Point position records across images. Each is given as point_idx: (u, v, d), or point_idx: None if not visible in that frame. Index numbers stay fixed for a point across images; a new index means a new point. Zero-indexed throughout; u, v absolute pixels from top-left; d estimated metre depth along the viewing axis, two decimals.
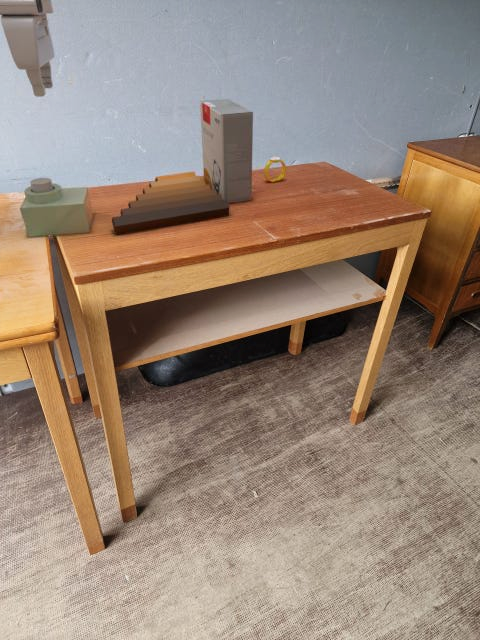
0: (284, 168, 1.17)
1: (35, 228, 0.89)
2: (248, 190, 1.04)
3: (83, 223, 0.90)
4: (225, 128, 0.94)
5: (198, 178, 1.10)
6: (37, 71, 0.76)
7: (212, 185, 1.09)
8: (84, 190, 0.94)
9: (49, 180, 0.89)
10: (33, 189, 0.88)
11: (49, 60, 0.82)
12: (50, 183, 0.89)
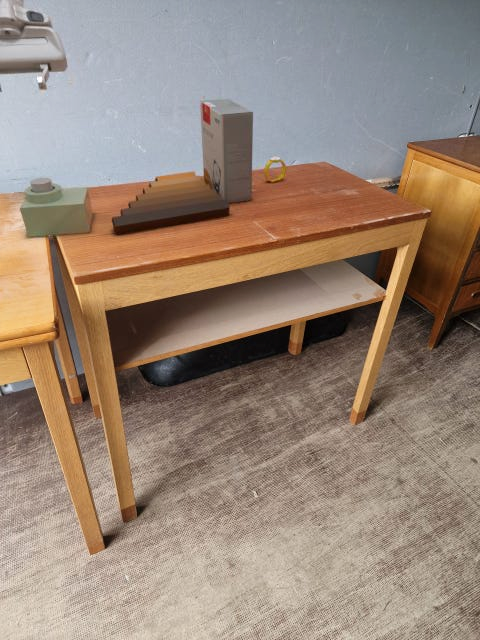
0: (284, 168, 1.17)
1: (35, 228, 0.89)
2: (248, 190, 1.04)
3: (83, 223, 0.90)
4: (225, 128, 0.94)
5: (198, 178, 1.10)
6: (48, 72, 0.92)
7: (212, 185, 1.09)
8: (84, 190, 0.94)
9: (49, 180, 0.89)
10: (33, 189, 0.88)
11: None
12: (50, 183, 0.89)
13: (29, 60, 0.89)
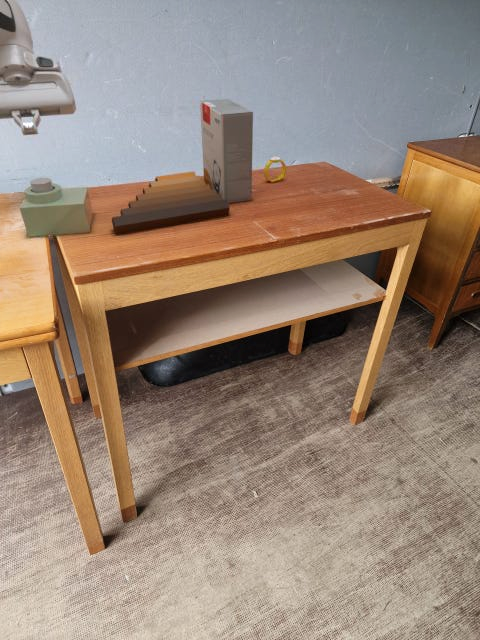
0: (284, 168, 1.17)
1: (35, 228, 0.89)
2: (248, 190, 1.04)
3: (83, 223, 0.90)
4: (225, 128, 0.94)
5: (198, 178, 1.10)
6: None
7: (212, 185, 1.09)
8: (84, 190, 0.94)
9: (49, 180, 0.89)
10: (33, 189, 0.88)
11: None
12: (50, 183, 0.89)
13: (39, 105, 0.90)
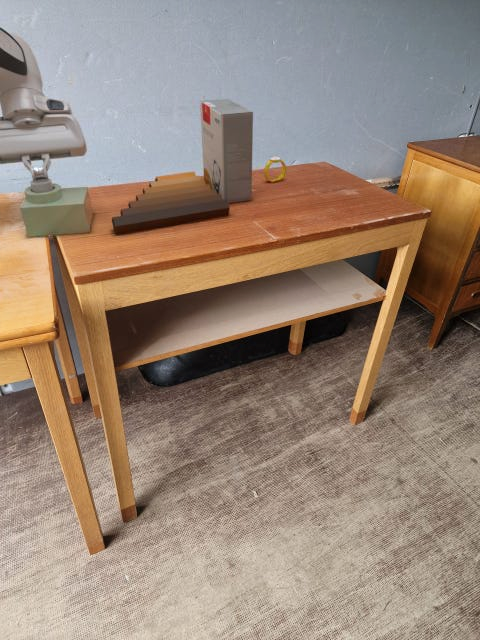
0: (284, 168, 1.17)
1: (35, 228, 0.89)
2: (248, 190, 1.04)
3: (83, 223, 0.90)
4: (225, 128, 0.94)
5: (198, 178, 1.10)
6: None
7: (212, 185, 1.09)
8: (84, 190, 0.94)
9: (49, 180, 0.89)
10: (33, 189, 0.88)
11: None
12: (50, 183, 0.89)
13: (49, 149, 0.88)
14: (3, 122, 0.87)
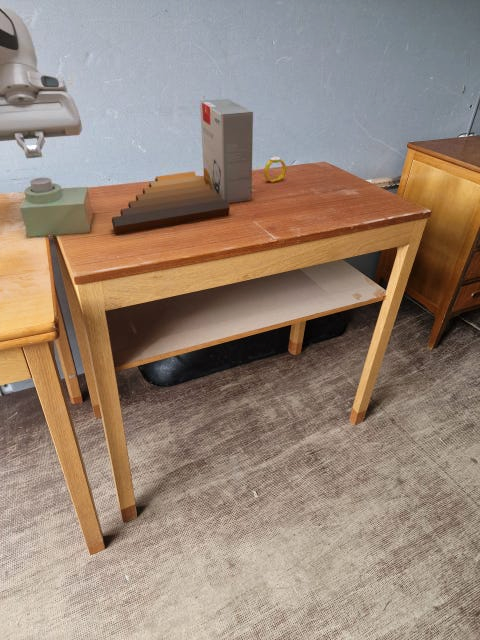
0: (284, 168, 1.17)
1: (35, 228, 0.89)
2: (248, 190, 1.04)
3: (83, 223, 0.90)
4: (225, 128, 0.94)
5: (198, 178, 1.10)
6: None
7: (212, 185, 1.09)
8: (84, 190, 0.94)
9: (49, 180, 0.89)
10: (33, 189, 0.88)
11: None
12: (50, 183, 0.89)
13: (43, 127, 0.86)
14: None
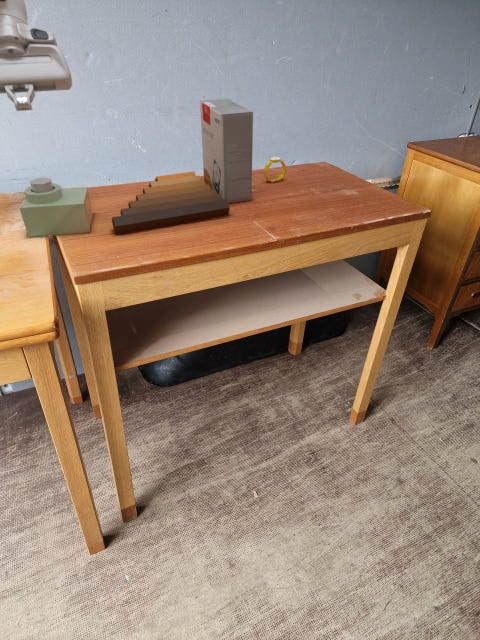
0: (284, 168, 1.17)
1: (35, 228, 0.89)
2: (248, 190, 1.04)
3: (83, 223, 0.90)
4: (225, 128, 0.94)
5: (198, 178, 1.10)
6: (34, 92, 0.88)
7: (212, 185, 1.09)
8: (84, 190, 0.94)
9: (49, 180, 0.89)
10: (33, 189, 0.88)
11: None
12: (50, 183, 0.89)
13: (33, 79, 0.86)
14: None
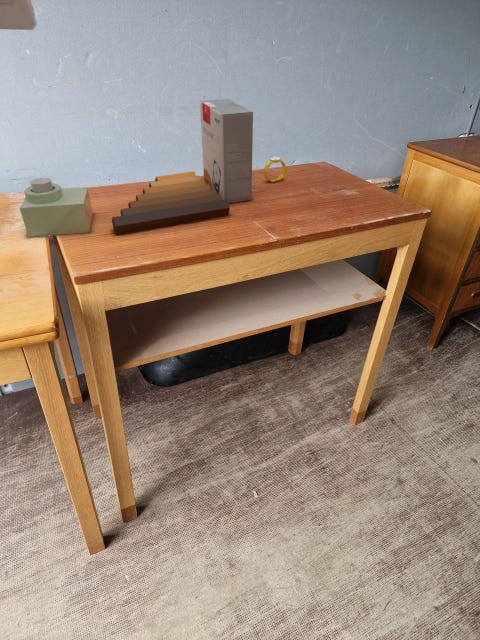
0: (284, 168, 1.17)
1: (35, 228, 0.89)
2: (248, 190, 1.04)
3: (83, 223, 0.90)
4: (225, 128, 0.94)
5: (198, 178, 1.10)
6: None
7: (212, 185, 1.09)
8: (84, 190, 0.94)
9: (49, 180, 0.89)
10: (33, 189, 0.88)
11: None
12: (50, 183, 0.89)
13: None
14: None
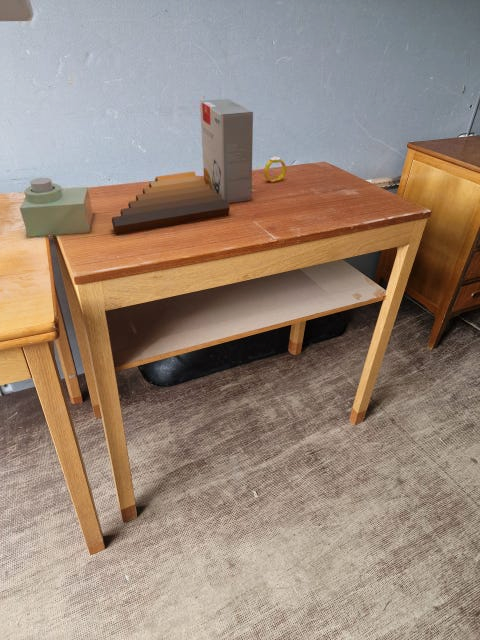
0: (284, 168, 1.17)
1: (35, 228, 0.89)
2: (248, 190, 1.04)
3: (83, 223, 0.90)
4: (225, 128, 0.94)
5: (198, 178, 1.10)
6: None
7: (212, 185, 1.09)
8: (84, 190, 0.94)
9: (49, 180, 0.89)
10: (33, 189, 0.88)
11: None
12: (50, 183, 0.89)
13: None
14: None
